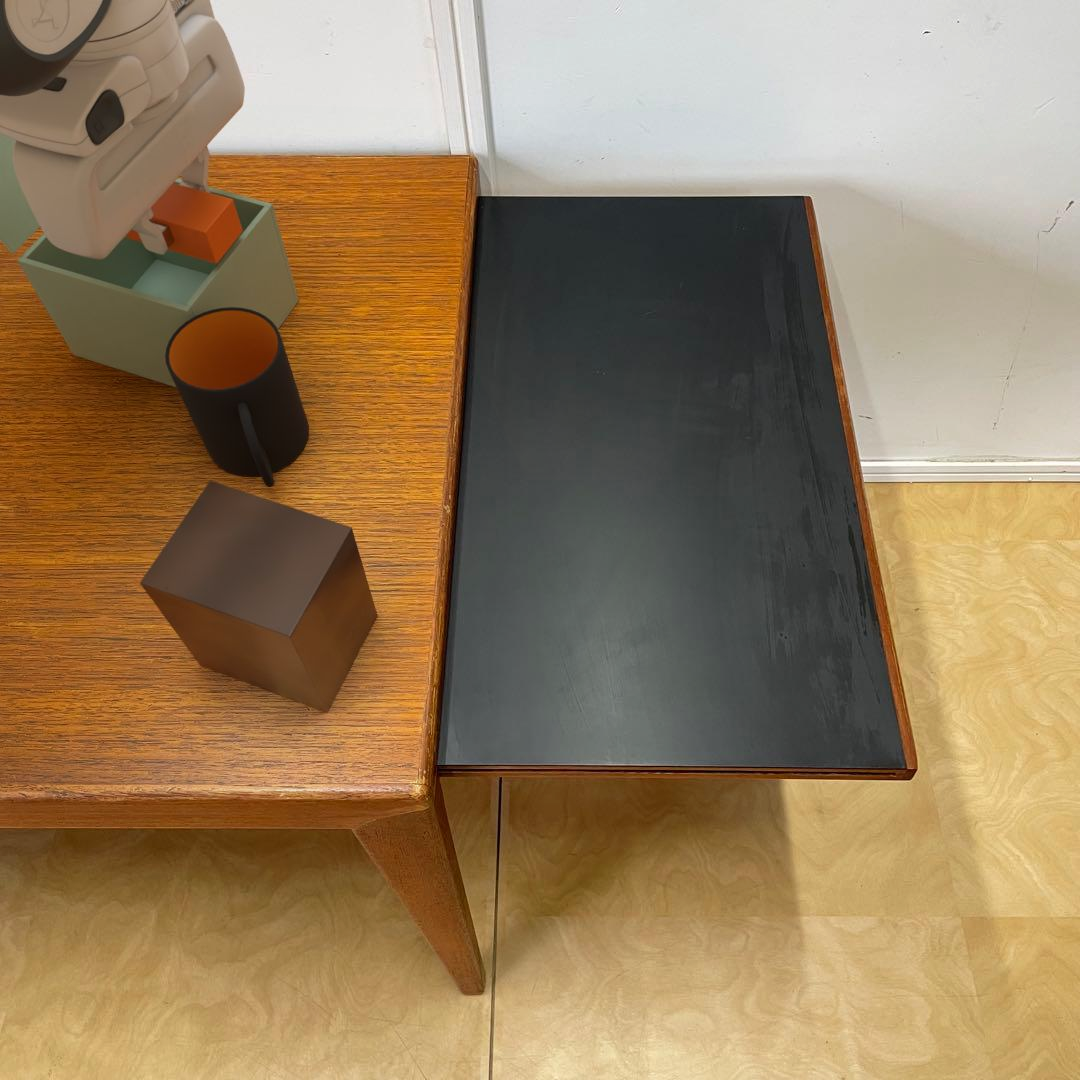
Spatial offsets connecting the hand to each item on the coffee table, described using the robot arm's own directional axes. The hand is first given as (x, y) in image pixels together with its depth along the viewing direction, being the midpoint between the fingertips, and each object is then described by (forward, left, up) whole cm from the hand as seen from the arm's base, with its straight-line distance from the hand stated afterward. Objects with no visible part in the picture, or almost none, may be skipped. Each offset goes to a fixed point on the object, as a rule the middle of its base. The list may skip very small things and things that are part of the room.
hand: (180, 225), depth 70 cm
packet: (0, 0, -1) cm, 1 cm away
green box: (-3, 0, -12) cm, 13 cm away
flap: (-12, 0, +2) cm, 12 cm away
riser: (+20, -24, -12) cm, 33 cm away
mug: (+10, -10, -12) cm, 19 cm away
